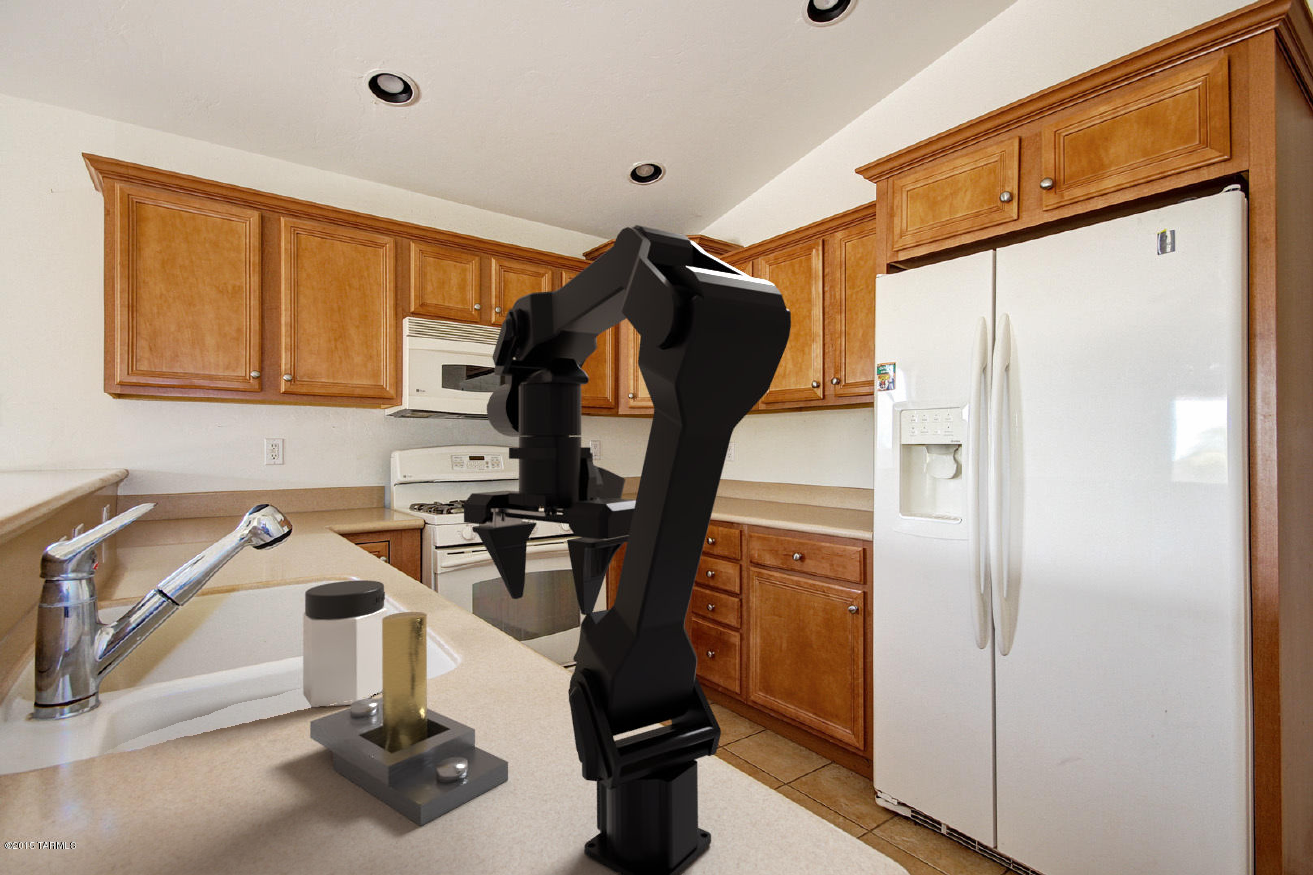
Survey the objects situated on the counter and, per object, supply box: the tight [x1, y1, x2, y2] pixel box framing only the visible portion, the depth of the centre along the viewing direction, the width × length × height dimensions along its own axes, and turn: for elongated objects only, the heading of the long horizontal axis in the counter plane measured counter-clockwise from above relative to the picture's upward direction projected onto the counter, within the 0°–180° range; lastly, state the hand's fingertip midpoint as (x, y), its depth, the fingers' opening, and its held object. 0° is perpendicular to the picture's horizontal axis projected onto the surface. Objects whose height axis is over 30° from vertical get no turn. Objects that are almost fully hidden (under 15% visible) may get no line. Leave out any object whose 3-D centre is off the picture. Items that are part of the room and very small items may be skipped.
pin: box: [381, 611, 428, 753], centre depth 55 cm, size 4×4×13 cm
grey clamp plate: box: [309, 697, 509, 827], centre depth 55 cm, size 18×8×4 cm, turn 52°
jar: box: [302, 579, 388, 708], centre depth 72 cm, size 9×8×12 cm
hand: (550, 605), depth 58 cm, fingers open, 9 cm apart
